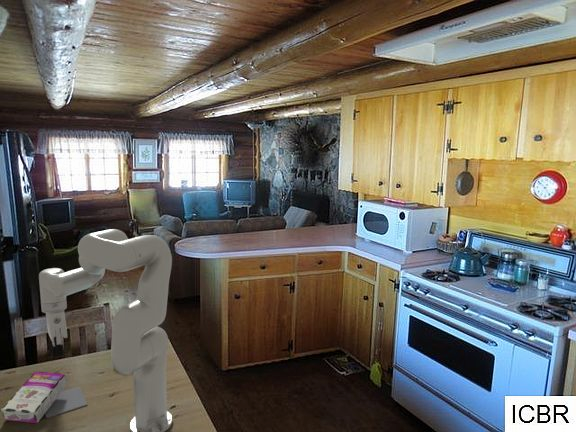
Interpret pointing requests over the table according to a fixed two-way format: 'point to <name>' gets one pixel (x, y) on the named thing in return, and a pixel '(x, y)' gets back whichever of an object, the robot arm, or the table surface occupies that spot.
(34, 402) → the candy bar box
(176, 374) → the table surface
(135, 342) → the robot arm
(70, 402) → the rubber mat
